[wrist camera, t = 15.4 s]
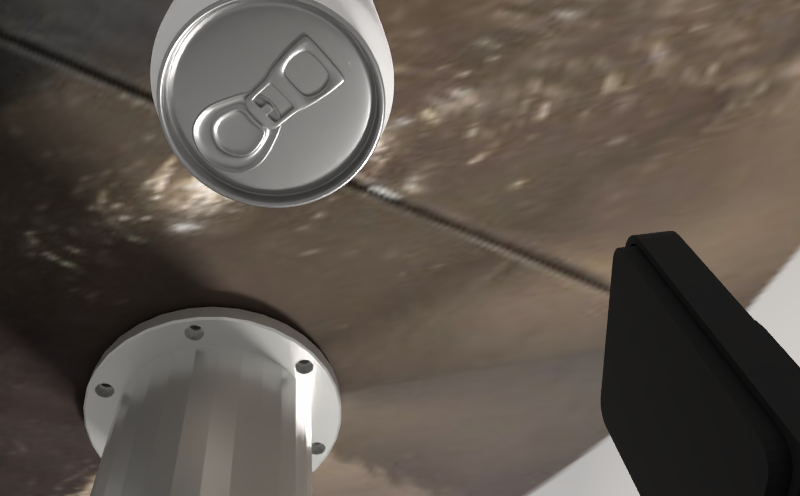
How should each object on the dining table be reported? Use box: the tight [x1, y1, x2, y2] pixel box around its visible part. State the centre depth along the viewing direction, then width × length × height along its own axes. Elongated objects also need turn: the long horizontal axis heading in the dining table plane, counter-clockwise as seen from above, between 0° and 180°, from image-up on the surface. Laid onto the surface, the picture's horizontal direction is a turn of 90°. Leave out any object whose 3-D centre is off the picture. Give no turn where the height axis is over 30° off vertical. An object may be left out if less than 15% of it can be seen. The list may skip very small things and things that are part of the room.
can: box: [150, 0, 394, 208], centre depth 24 cm, size 6×6×12 cm
